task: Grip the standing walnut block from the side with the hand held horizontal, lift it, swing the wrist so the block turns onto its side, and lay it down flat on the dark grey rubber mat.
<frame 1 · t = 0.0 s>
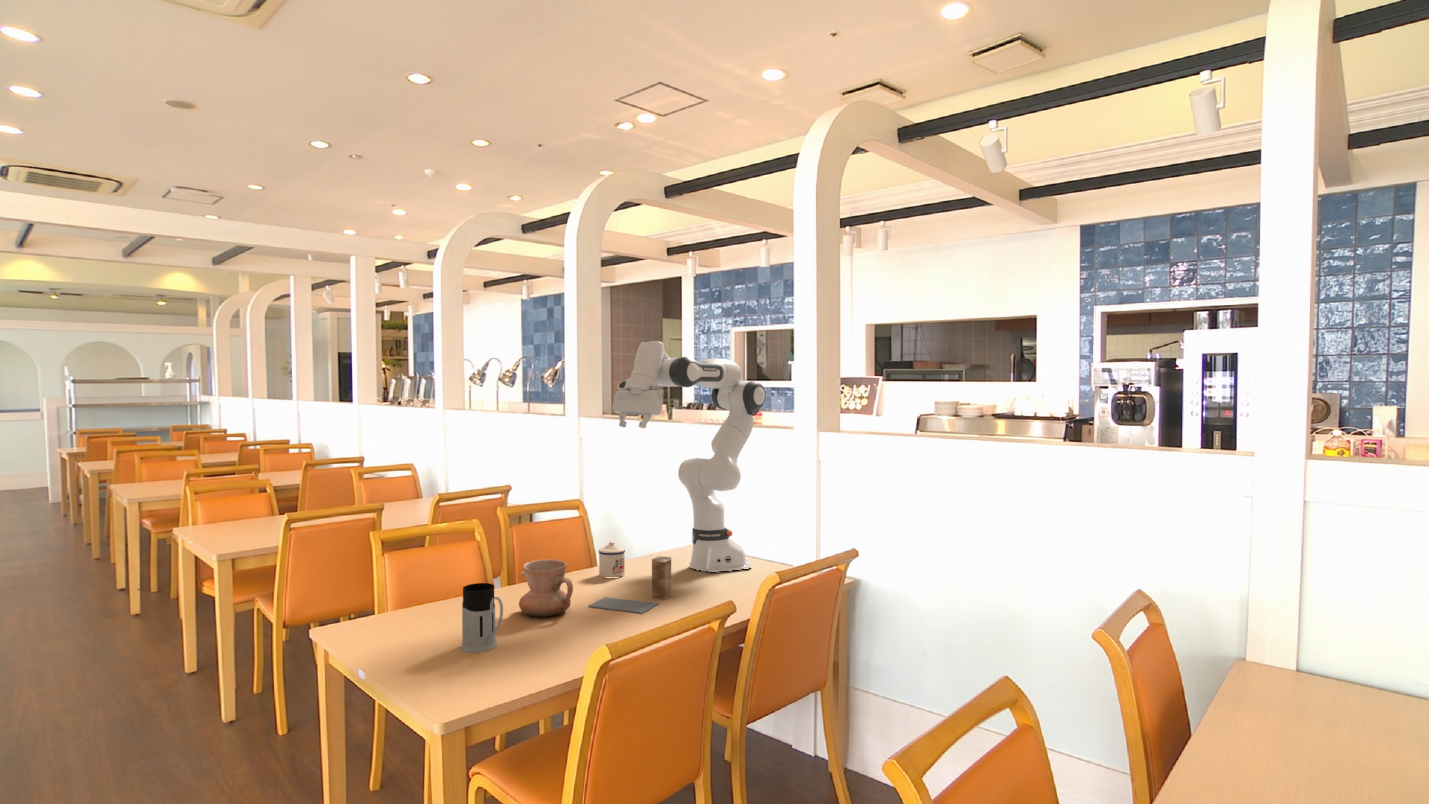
hand: (631, 427, 243), 52 cm above the table, tool tilted 20°, fingers open, 8 cm apart
teacup with lid: (614, 575, 261), on the table
ceramic jug: (546, 614, 216), on the table
walnut block: (661, 596, 233), on the table
rubber mat: (623, 605, 224), on the table
glass holder: (485, 649, 187), on the table
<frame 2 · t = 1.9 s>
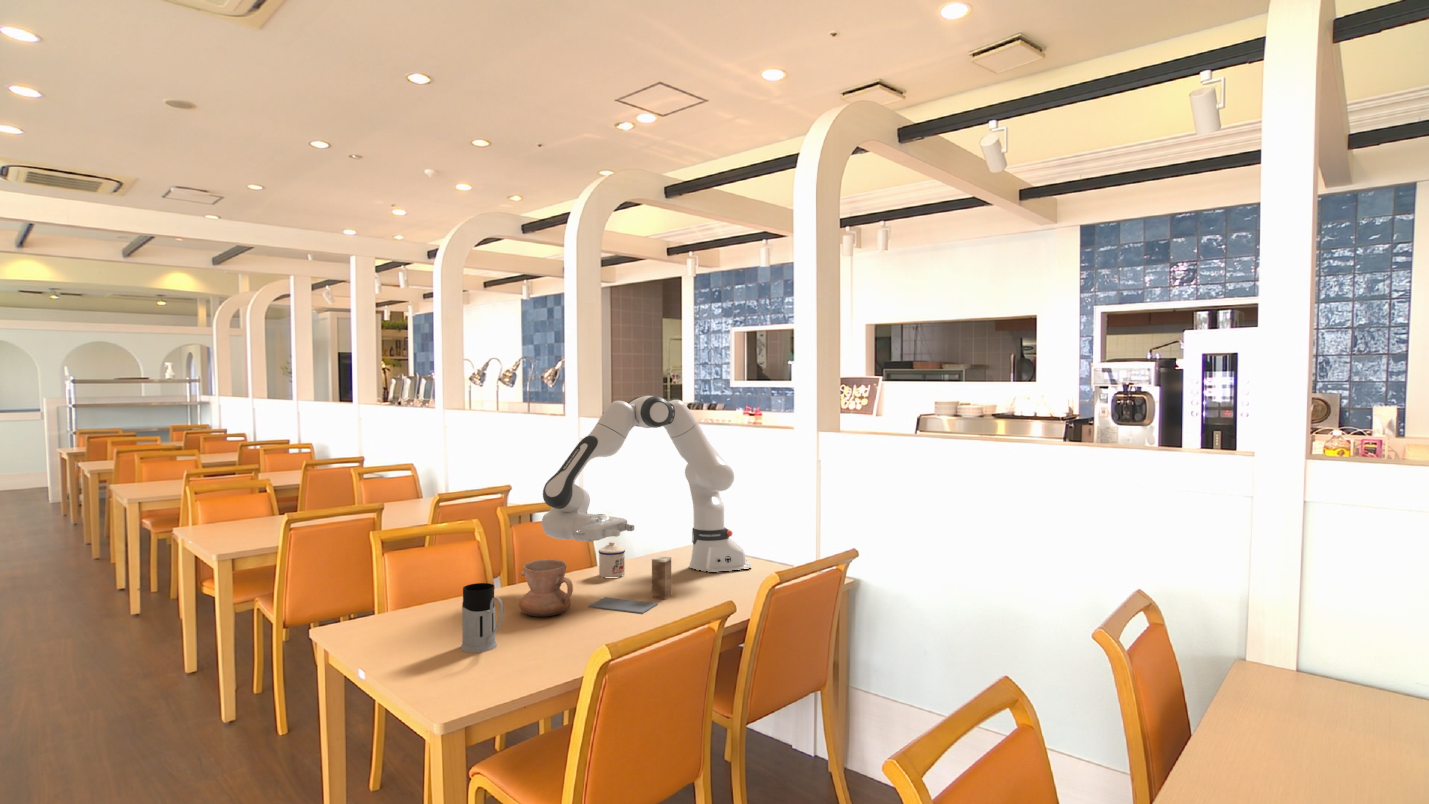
hand: (626, 530, 237), 20 cm above the table, tool horizontal, fingers open, 8 cm apart
nothing on the table moved.
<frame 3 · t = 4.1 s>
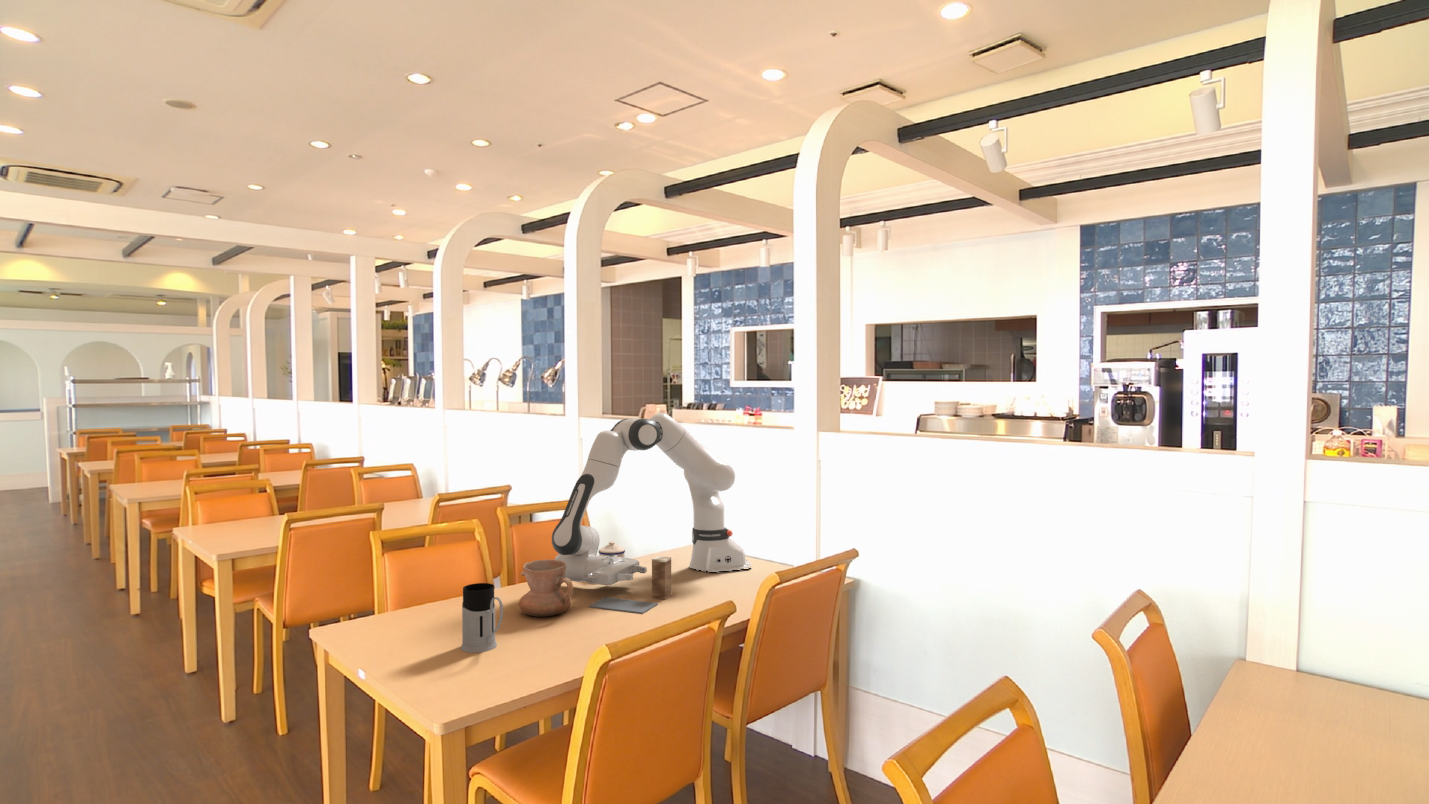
hand: (639, 573, 236), 6 cm above the table, tool horizontal, fingers open, 8 cm apart
nothing on the table moved.
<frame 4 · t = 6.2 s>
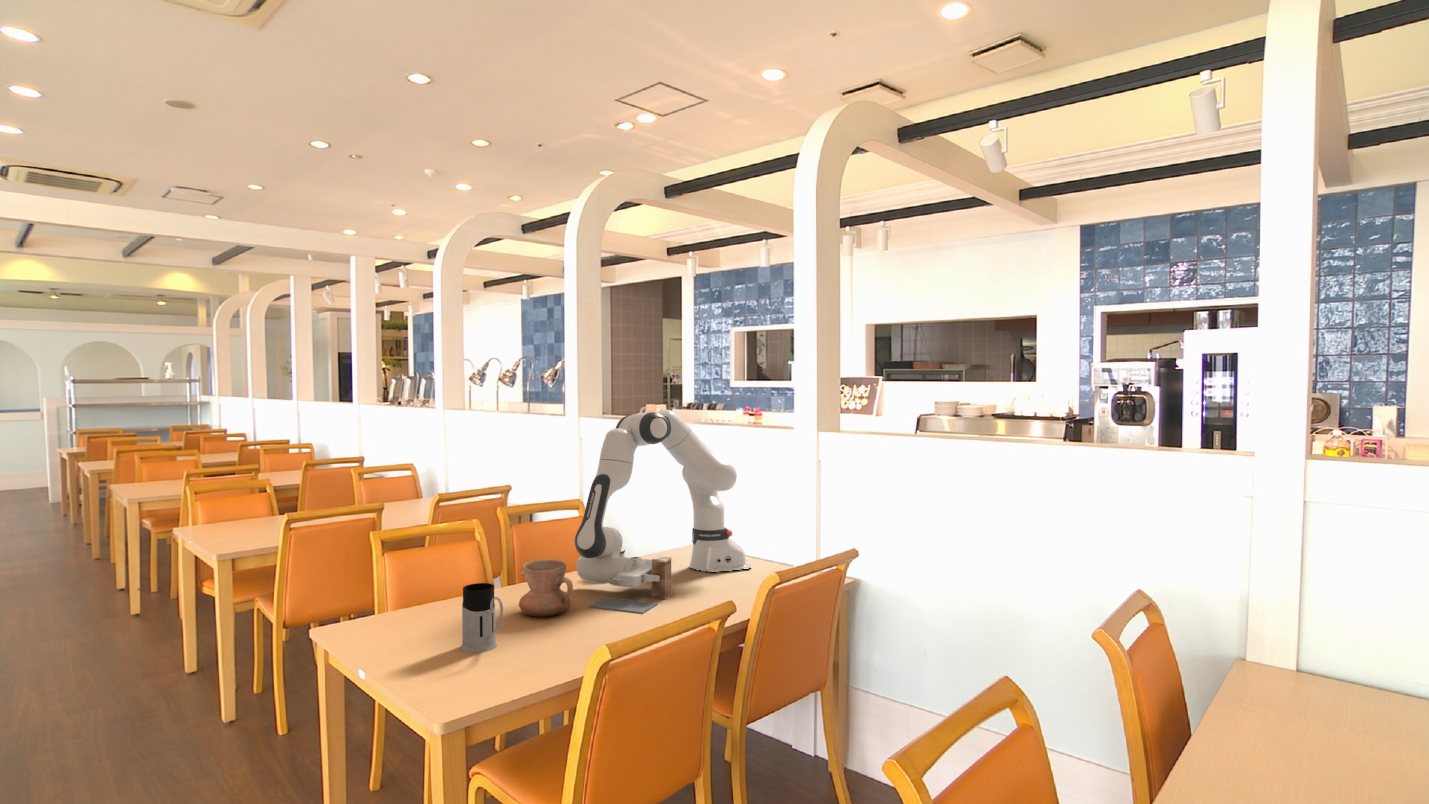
hand: (664, 575, 233), 7 cm above the table, tool horizontal, fingers closed on walnut block, 4 cm apart
walnut block: (661, 596, 233), on the table, touching gripper
everything else where it was.
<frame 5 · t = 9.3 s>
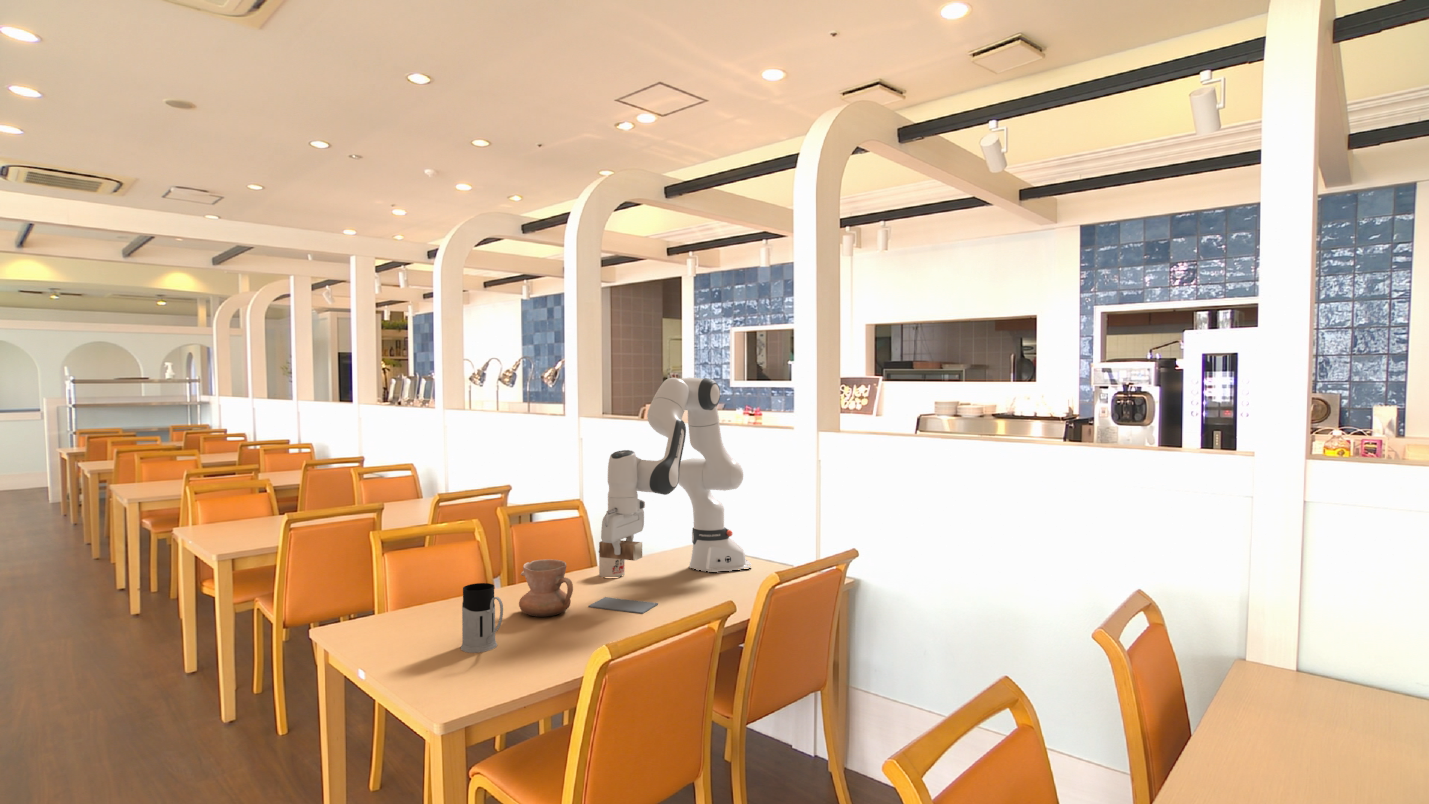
hand: (623, 552, 223), 16 cm above the table, tool pointing down, fingers closed on walnut block, 4 cm apart
walnut block: (603, 548, 226), point 17 cm above the table, tilted 90°, touching gripper
everything else where it was.
when the fingers open (4 cm above the table, at t = 11.9 s): walnut block drops 2 cm, resting on rubber mat.
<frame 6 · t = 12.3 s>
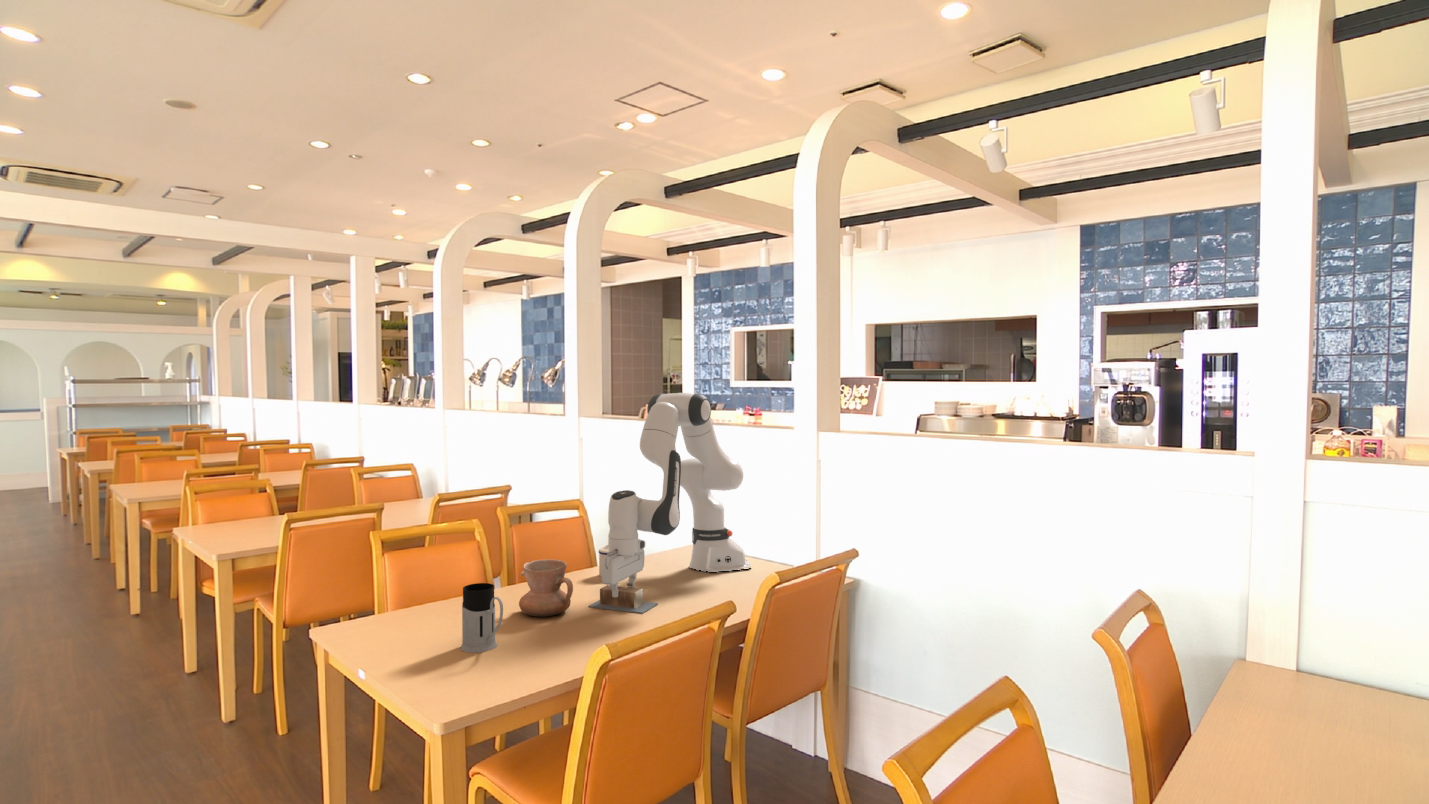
hand: (623, 592, 224), 4 cm above the table, tool pointing down, fingers open, 8 cm apart
walnut block: (603, 594, 226), point 3 cm above the table, tilted 90°, touching rubber mat
everything else where it was.
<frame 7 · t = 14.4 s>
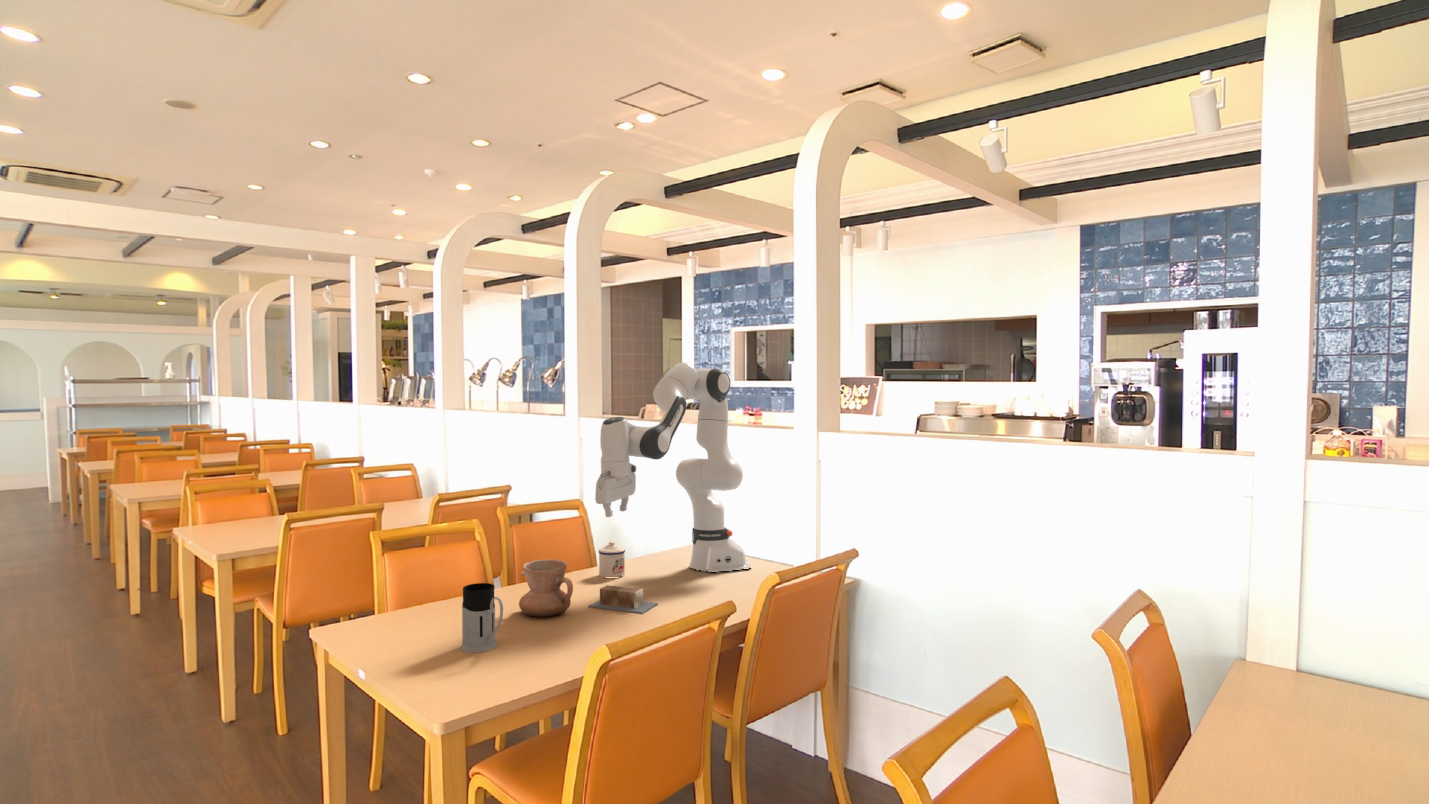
hand: (616, 513, 235), 25 cm above the table, tool pointing down, fingers open, 8 cm apart
nothing on the table moved.
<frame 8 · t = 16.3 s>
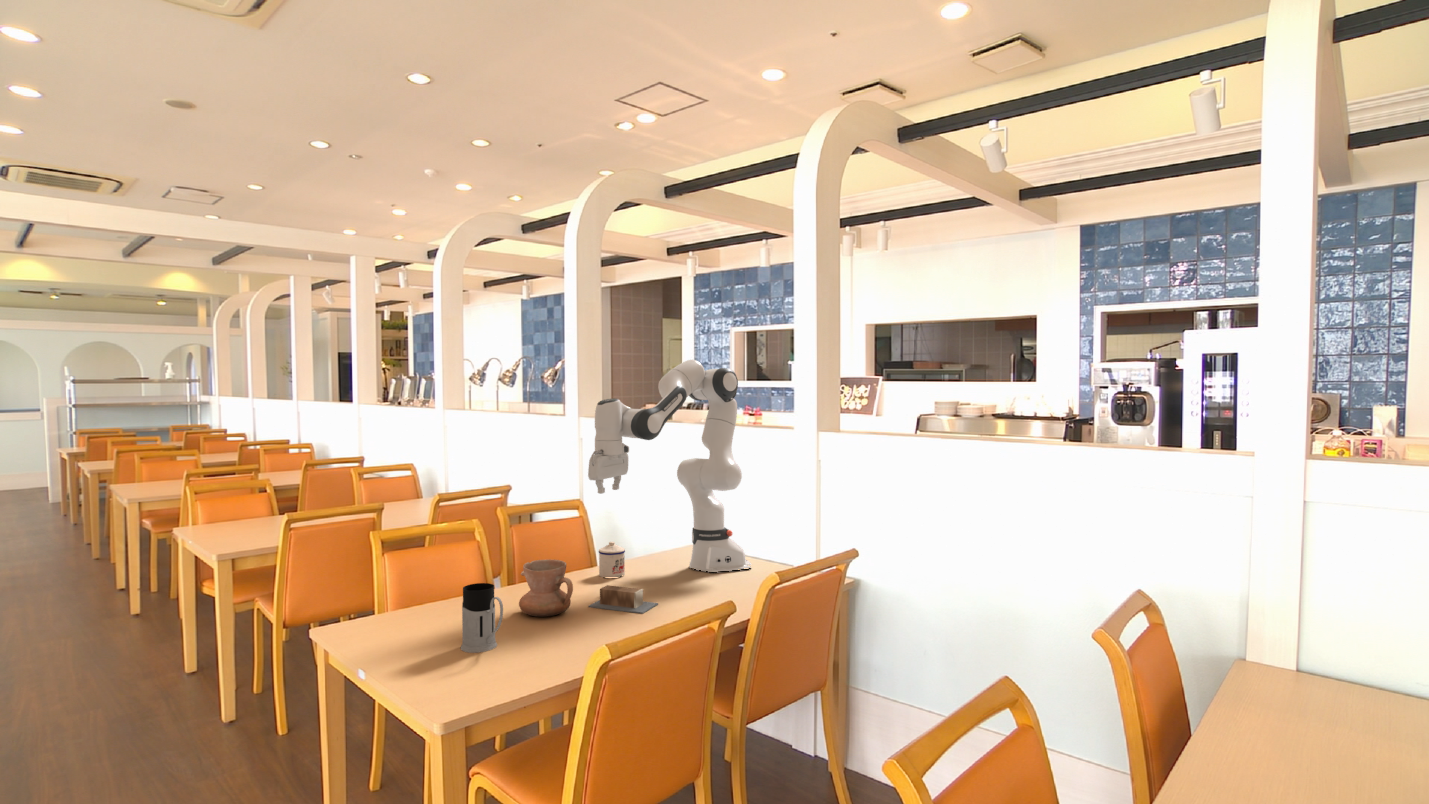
hand: (608, 491, 244), 31 cm above the table, tool pointing down, fingers open, 8 cm apart
nothing on the table moved.
at the end: walnut block tilted 90°; walnut block 6.8 cm from the rubber mat (horizontally); the gripper is holding nothing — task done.
